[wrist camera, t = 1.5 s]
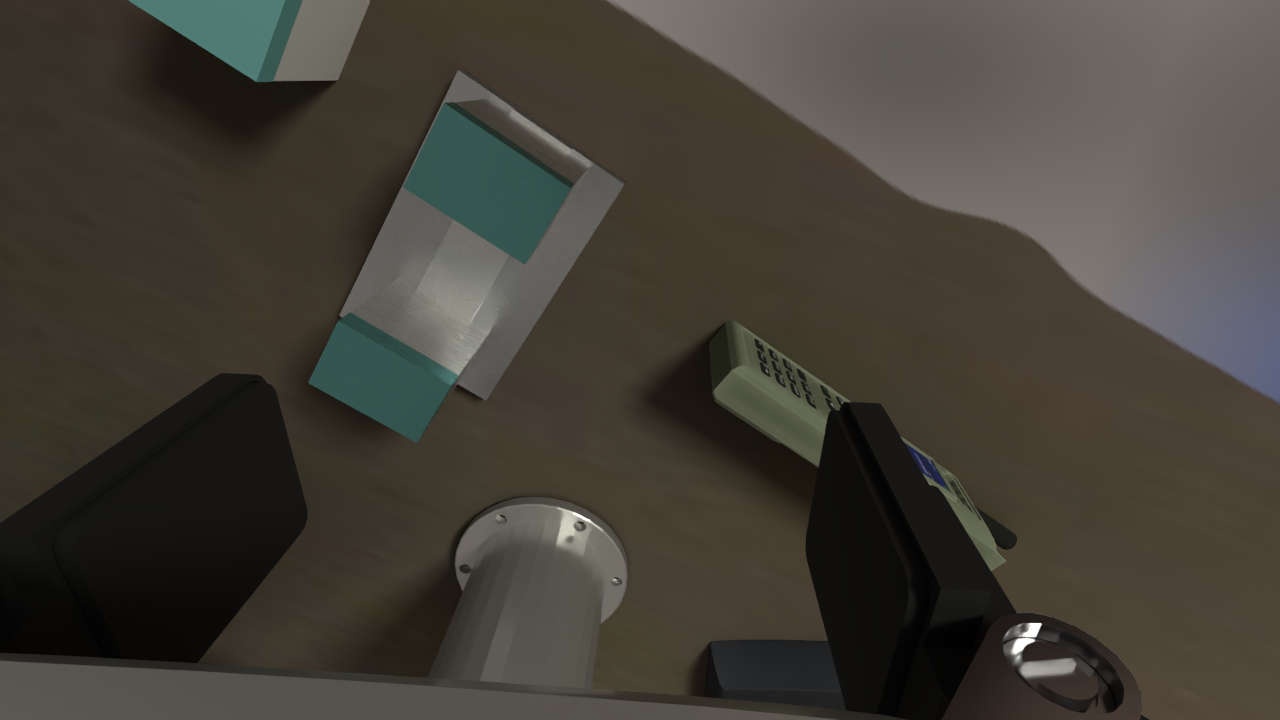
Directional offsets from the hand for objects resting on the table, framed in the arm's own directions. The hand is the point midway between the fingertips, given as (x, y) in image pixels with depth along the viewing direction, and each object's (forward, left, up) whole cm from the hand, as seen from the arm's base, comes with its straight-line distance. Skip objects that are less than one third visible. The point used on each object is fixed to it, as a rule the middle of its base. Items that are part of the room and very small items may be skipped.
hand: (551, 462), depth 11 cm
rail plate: (-8, +6, -26) cm, 28 cm away
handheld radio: (-4, -21, -27) cm, 34 cm away
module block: (-2, +19, -26) cm, 33 cm away
